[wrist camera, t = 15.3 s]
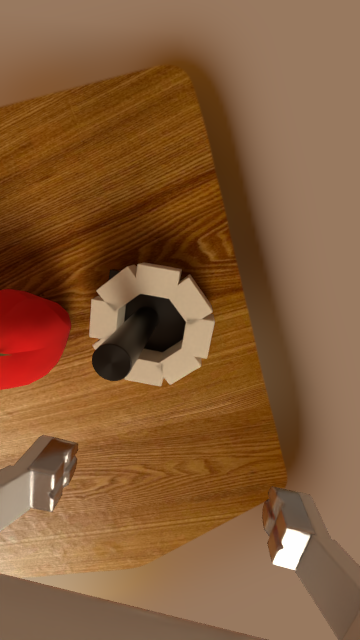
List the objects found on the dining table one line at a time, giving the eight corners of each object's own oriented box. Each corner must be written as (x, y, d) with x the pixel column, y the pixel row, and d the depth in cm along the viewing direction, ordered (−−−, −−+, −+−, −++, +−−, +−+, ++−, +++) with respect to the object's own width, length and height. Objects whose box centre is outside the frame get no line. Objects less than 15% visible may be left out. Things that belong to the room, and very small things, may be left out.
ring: (221, 276, 27) (224, 279, 25) (199, 380, 31) (199, 394, 28) (104, 255, 28) (94, 256, 25) (96, 361, 32) (86, 372, 29)
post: (195, 284, 29) (191, 311, 16) (180, 360, 32) (167, 432, 19) (113, 269, 29) (47, 283, 17) (105, 345, 32) (44, 406, 20)
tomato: (101, 343, 32) (57, 384, 22) (25, 376, 34) (-45, 426, 25) (55, 264, 30) (-15, 271, 20) (-23, 305, 32) (-121, 330, 22)
